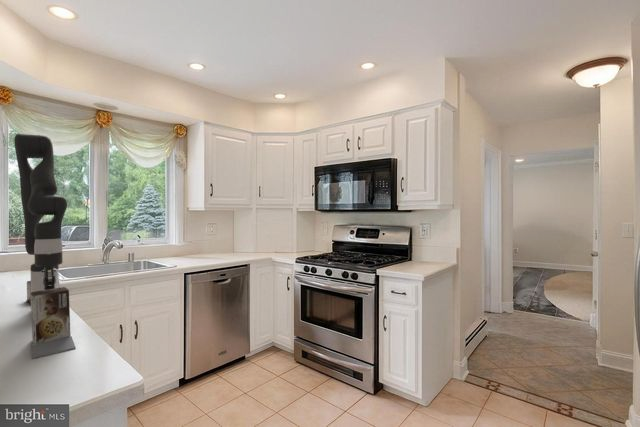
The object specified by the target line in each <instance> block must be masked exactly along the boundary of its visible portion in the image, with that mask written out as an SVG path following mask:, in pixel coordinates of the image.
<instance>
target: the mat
mask: <svg viewBox="0 0 640 427" xmlns="http://www.w3.org/2000/svg"><path fill="white" fill-rule="evenodd" d="M75 349H76V345H75V343H74V340H73V337H72V336H71V335H70V336H68V337H64V338H61V339H57V340H52V341H48V342H43V343H39V344H35V343H33V344H31V360H35V359H39V358H43V357H47V356H51V355H54V354H60V353H63V352H68V351H72V350H75Z"/></svg>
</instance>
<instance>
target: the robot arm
mask: <svg viewBox="0 0 640 427" xmlns="http://www.w3.org/2000/svg"><path fill="white" fill-rule="evenodd" d="M13 138H14V140H13V141H14V143H13V144H14V150H15V155H16V160H17V166H18V173H19V186H20V199H21V206H22V213H23V219H24V220H23V221H24V246H25V252H26V254H28V255H30V256H31V255H33V257H34V262H33V263H32V264H31V265H30V281H31V292H36V291H42V290H48V289H54V288H60V279H59V278H60V277H59V276H60V273H59V269H60V268H59V266H60V265H62V264H63V242H62V222H63V218H64V216H65V214H66V210H67V207H68V202H67V199H66V198H65V197H64V196H62V195H57V192H58V186H57V183H56V177H55V159H54V157H55V156H54V148H53V142H52V139H51V137H49V136H48V135H43V134H42V135H41V134H34V133H33V134H31V133H16V134H15V136H14V137H13ZM28 159H42V160H40V162H39V163H38V164H37V165H36V166H35V167H34V168H32V166H31V164H30V162H29V160H28ZM44 216H53V217H52V218H51V219H49V220H47V221H42V219H43V218H44ZM30 310H31V313H32V308H31V307H30Z"/></svg>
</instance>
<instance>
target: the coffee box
mask: <svg viewBox="0 0 640 427" xmlns="http://www.w3.org/2000/svg"><path fill="white" fill-rule="evenodd" d="M31 308H32V312H31V333H32V334H31V337H32V342H33V344H39V343H43V342H48V341H52V340H57V339H62V338H66V337H71V314H70V290H69V289H68V288H67V287H66V286H62V287H59V288H54V289H48V290H42V291H36V292H31V303H30V309H31Z"/></svg>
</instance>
